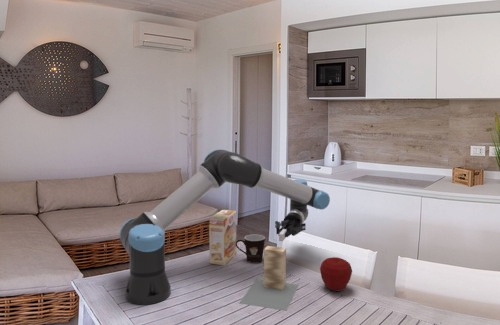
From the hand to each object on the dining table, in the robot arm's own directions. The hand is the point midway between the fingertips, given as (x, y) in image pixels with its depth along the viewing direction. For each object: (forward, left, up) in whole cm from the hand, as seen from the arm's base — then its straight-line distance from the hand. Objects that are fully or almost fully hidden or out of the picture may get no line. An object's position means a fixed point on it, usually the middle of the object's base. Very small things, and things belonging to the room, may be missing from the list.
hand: (280, 237), depth 152 cm
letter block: (0, -8, -16) cm, 17 cm away
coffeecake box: (-28, +13, -16) cm, 35 cm away
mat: (0, -14, -16) cm, 21 cm away
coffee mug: (-16, +15, -16) cm, 28 cm away
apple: (+21, -2, -16) cm, 26 cm away
